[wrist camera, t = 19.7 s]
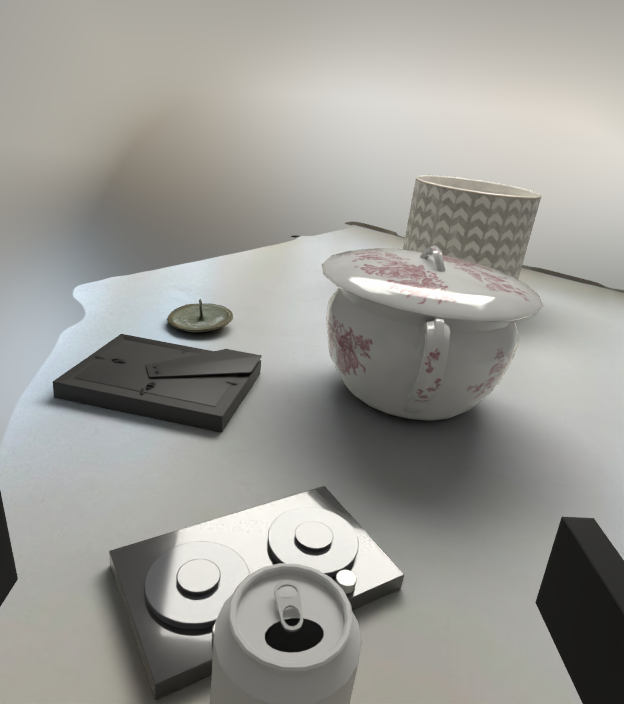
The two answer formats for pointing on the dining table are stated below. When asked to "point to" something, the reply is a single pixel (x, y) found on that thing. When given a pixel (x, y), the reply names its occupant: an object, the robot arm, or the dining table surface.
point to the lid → (199, 317)
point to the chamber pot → (422, 329)
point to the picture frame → (162, 381)
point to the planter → (472, 221)
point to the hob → (235, 575)
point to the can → (285, 640)
